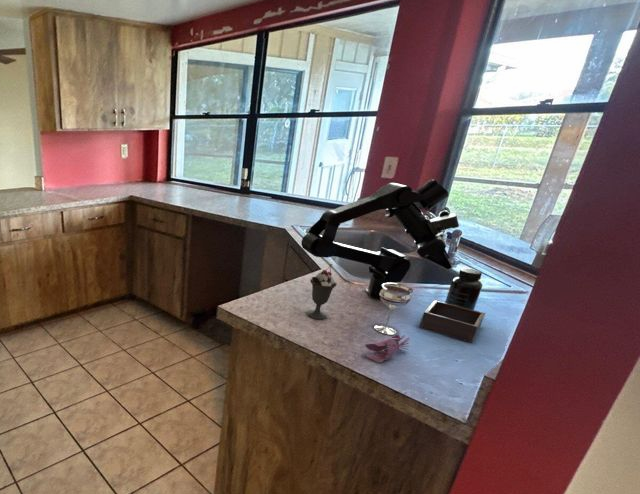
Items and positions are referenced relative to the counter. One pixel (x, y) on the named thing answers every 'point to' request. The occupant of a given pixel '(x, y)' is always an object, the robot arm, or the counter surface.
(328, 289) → the sundae
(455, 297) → the supplement bottle
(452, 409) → the counter surface
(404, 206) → the robot arm
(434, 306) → the caddy
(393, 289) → the wineglass
